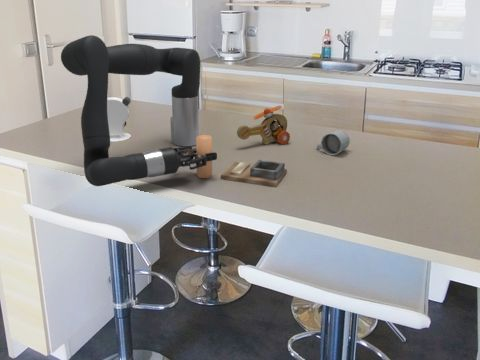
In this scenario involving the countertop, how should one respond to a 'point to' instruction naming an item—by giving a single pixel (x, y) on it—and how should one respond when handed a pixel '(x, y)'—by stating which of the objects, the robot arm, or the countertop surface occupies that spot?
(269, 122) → the toy helicopter
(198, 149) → the cylinder
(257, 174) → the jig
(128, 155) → the robot arm
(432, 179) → the countertop surface
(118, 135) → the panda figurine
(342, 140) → the ceramic mug
